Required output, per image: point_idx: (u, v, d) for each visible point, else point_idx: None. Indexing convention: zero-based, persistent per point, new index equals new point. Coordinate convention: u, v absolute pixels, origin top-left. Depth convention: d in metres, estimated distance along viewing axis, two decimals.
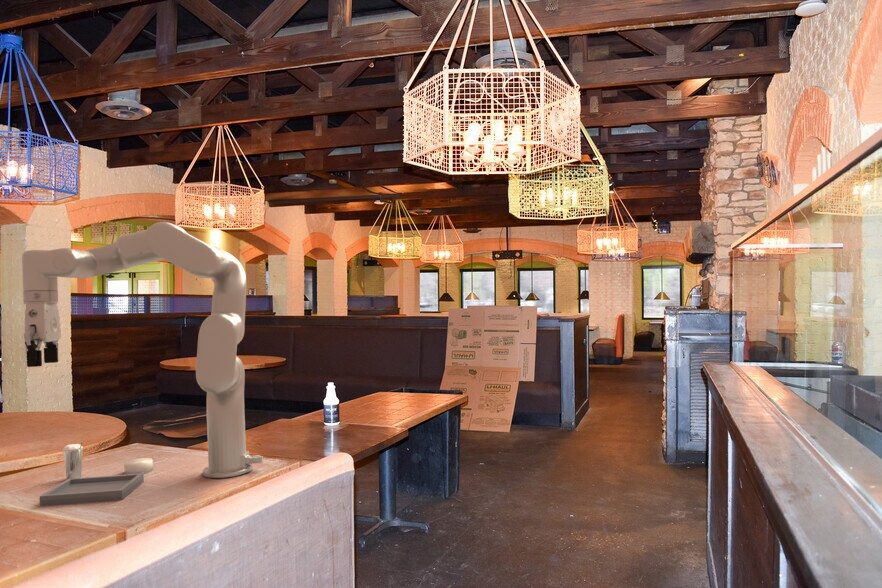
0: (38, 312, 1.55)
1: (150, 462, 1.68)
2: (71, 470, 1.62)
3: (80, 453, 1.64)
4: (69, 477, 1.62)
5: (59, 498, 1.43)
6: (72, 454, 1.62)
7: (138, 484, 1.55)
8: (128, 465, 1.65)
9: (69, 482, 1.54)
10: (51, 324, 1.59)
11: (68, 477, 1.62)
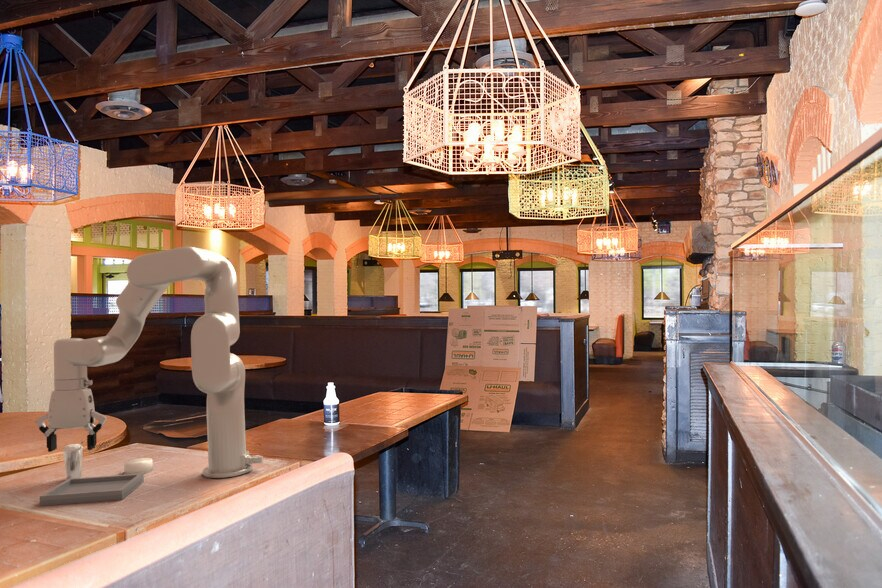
0: (92, 397, 1.66)
1: (150, 462, 1.68)
2: (71, 470, 1.62)
3: (80, 453, 1.64)
4: (69, 477, 1.62)
5: (59, 498, 1.43)
6: (72, 454, 1.62)
7: (138, 484, 1.55)
8: (128, 465, 1.65)
9: (69, 482, 1.54)
10: None
11: (68, 477, 1.62)
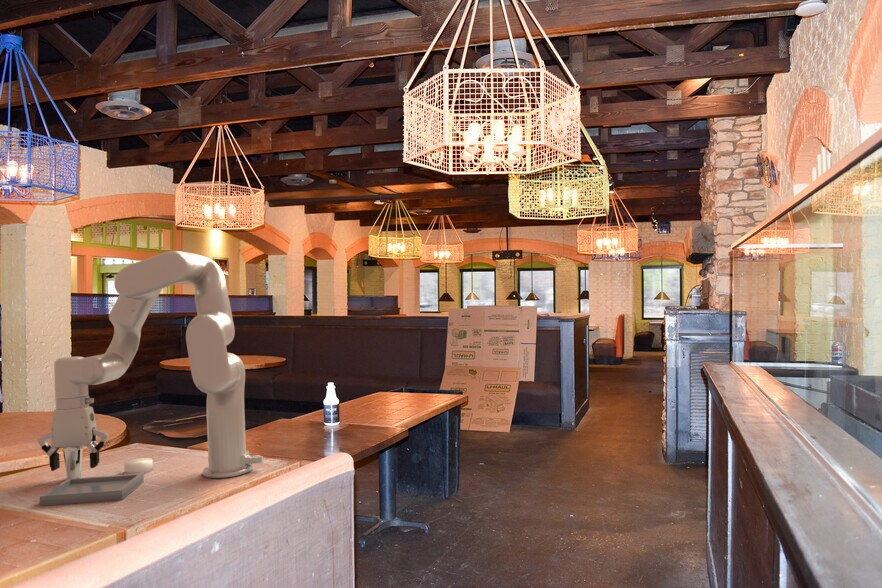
0: (94, 415, 1.66)
1: (150, 462, 1.68)
2: (71, 470, 1.62)
3: (80, 453, 1.64)
4: (69, 477, 1.62)
5: (59, 498, 1.43)
6: (72, 454, 1.62)
7: (138, 484, 1.55)
8: (128, 465, 1.65)
9: (69, 482, 1.54)
10: None
11: (68, 477, 1.62)
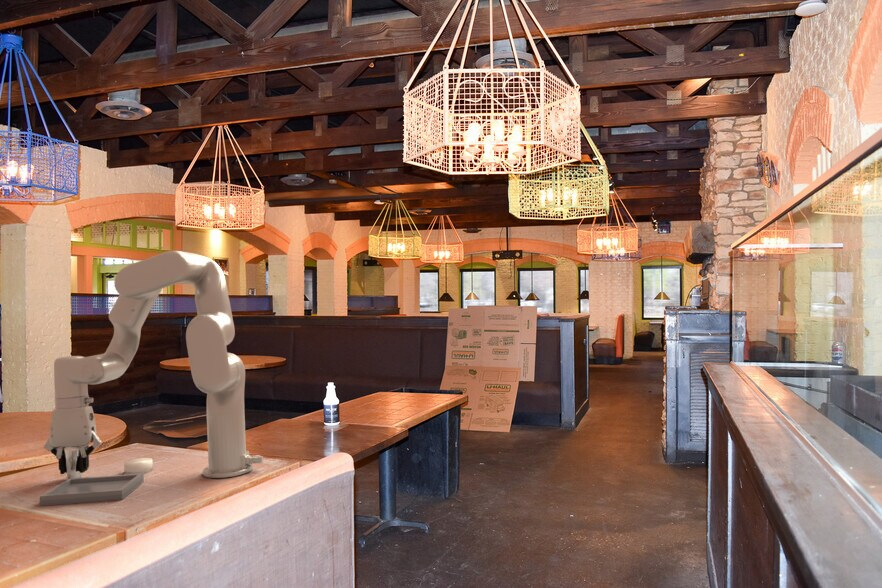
0: (93, 414, 1.66)
1: (150, 462, 1.68)
2: (71, 470, 1.62)
3: None
4: (69, 477, 1.62)
5: (59, 498, 1.43)
6: (73, 454, 1.62)
7: (138, 484, 1.55)
8: (128, 465, 1.65)
9: (69, 482, 1.54)
10: None
11: (68, 477, 1.62)
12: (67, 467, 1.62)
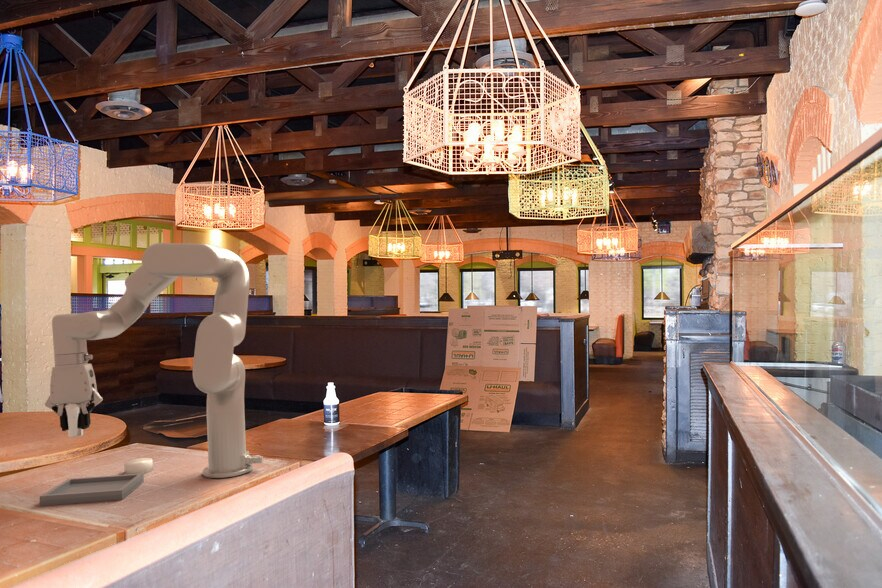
0: (93, 371, 1.66)
1: (150, 462, 1.68)
2: (73, 427, 1.62)
3: None
4: (71, 434, 1.62)
5: (59, 498, 1.43)
6: (74, 410, 1.62)
7: (138, 484, 1.55)
8: (128, 465, 1.65)
9: (69, 482, 1.54)
10: None
11: (70, 434, 1.62)
12: (69, 424, 1.62)
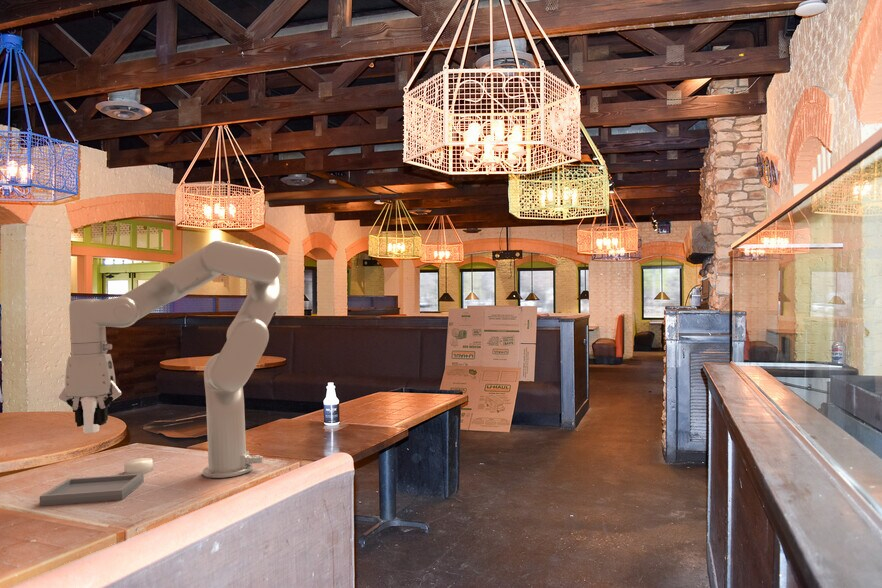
0: (112, 363, 1.52)
1: (150, 462, 1.68)
2: (89, 423, 1.49)
3: None
4: (86, 430, 1.49)
5: (59, 498, 1.43)
6: (90, 404, 1.48)
7: (138, 484, 1.55)
8: (128, 465, 1.65)
9: (69, 482, 1.54)
10: None
11: (85, 430, 1.49)
12: (84, 419, 1.49)
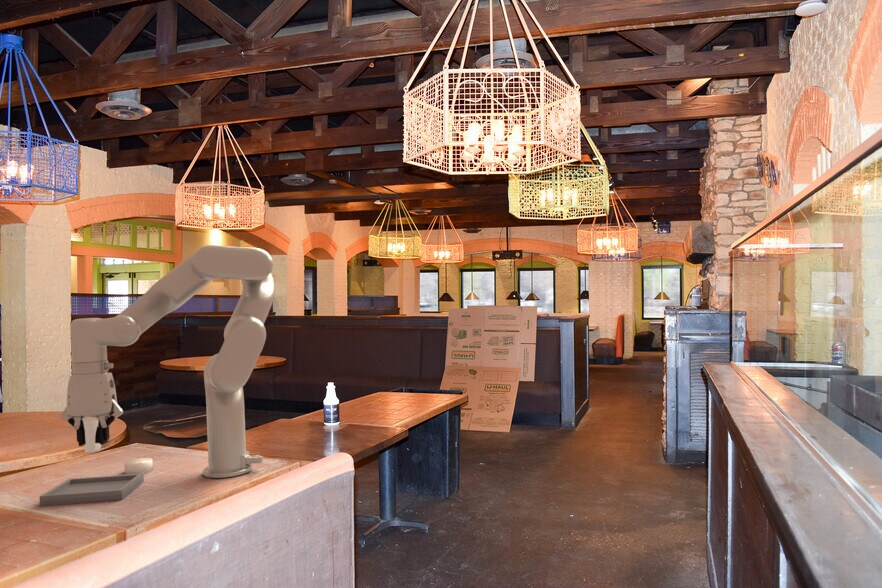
0: (113, 381, 1.52)
1: (150, 462, 1.68)
2: (90, 442, 1.49)
3: (100, 423, 1.50)
4: (88, 449, 1.49)
5: (59, 498, 1.43)
6: (92, 424, 1.48)
7: (138, 484, 1.55)
8: (128, 465, 1.65)
9: (69, 482, 1.54)
10: None
11: (87, 449, 1.49)
12: (86, 438, 1.49)
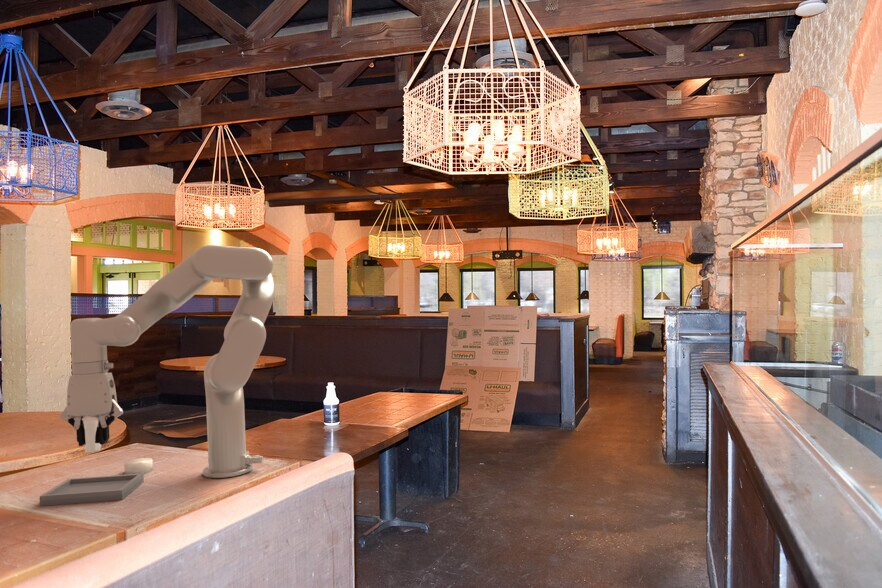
0: (113, 381, 1.52)
1: (150, 462, 1.68)
2: (90, 442, 1.49)
3: (100, 423, 1.50)
4: (88, 449, 1.49)
5: (59, 498, 1.43)
6: (92, 424, 1.48)
7: (138, 484, 1.55)
8: (128, 465, 1.65)
9: (69, 482, 1.54)
10: None
11: (87, 449, 1.49)
12: (86, 438, 1.49)
